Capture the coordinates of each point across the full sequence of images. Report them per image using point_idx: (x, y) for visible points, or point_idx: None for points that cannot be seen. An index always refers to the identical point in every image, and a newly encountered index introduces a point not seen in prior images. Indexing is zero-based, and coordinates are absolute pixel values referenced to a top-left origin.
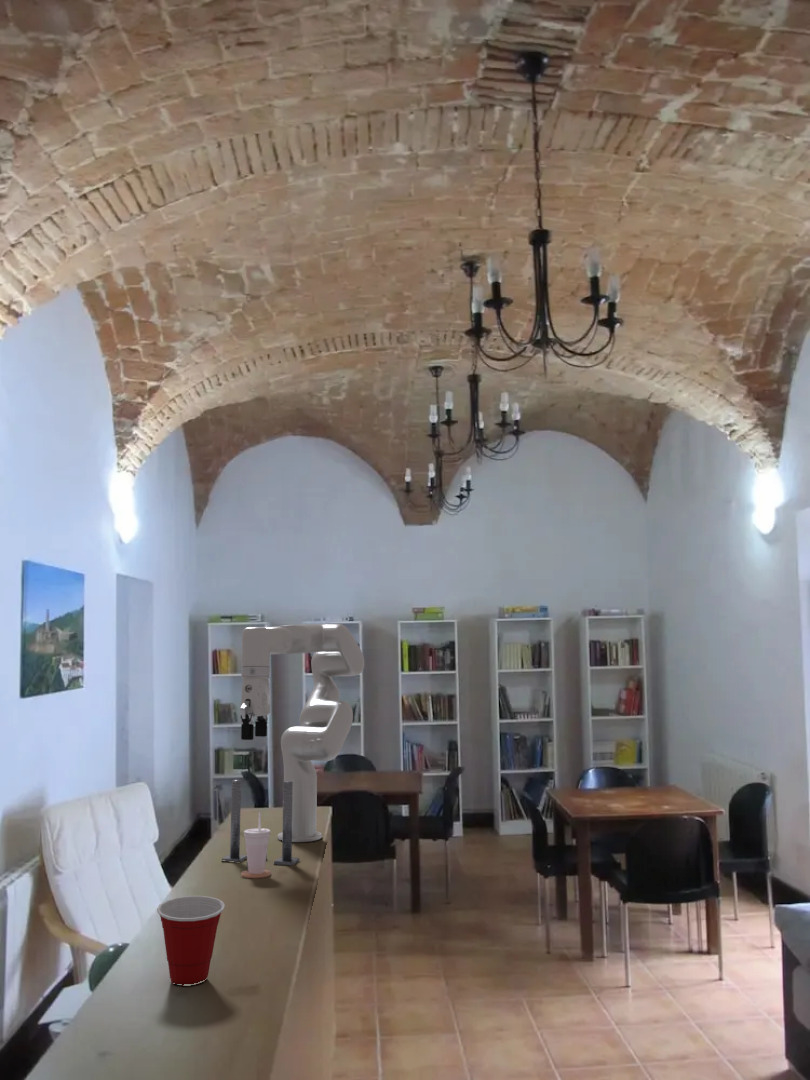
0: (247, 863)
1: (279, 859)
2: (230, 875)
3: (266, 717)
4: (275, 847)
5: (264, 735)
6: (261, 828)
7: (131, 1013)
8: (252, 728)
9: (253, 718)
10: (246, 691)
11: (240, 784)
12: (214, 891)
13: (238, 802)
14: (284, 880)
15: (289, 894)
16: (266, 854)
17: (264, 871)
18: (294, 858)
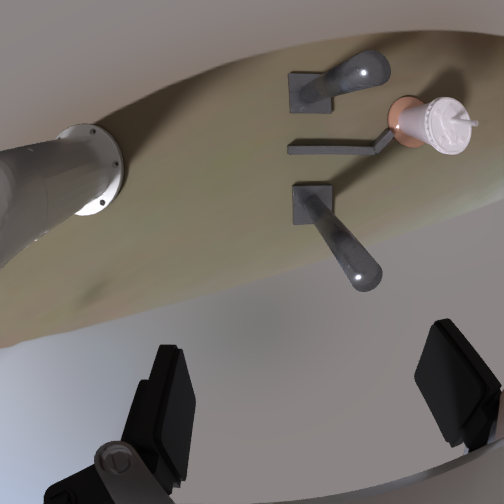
0: (378, 152)
1: (314, 107)
2: (417, 164)
3: (120, 475)
4: (174, 175)
5: (182, 354)
6: (431, 122)
7: None
8: (484, 366)
9: (499, 434)
10: None
11: (365, 255)
12: (488, 156)
13: (353, 236)
14: (426, 67)
15: (480, 52)
16: (289, 146)
17: (402, 109)
18: (297, 81)
